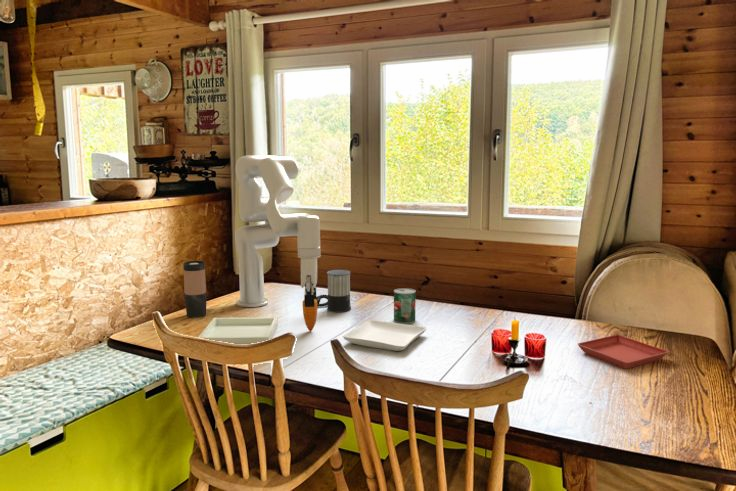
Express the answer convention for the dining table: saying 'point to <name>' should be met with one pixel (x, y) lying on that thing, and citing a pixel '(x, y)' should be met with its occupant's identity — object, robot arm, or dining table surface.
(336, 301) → the milk frother
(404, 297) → the canned tomato
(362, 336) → the salad plate
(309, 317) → the carrot
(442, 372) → the dining table surface
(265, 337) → the tray
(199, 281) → the travel mug
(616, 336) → the plant saucer
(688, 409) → the dining table surface
